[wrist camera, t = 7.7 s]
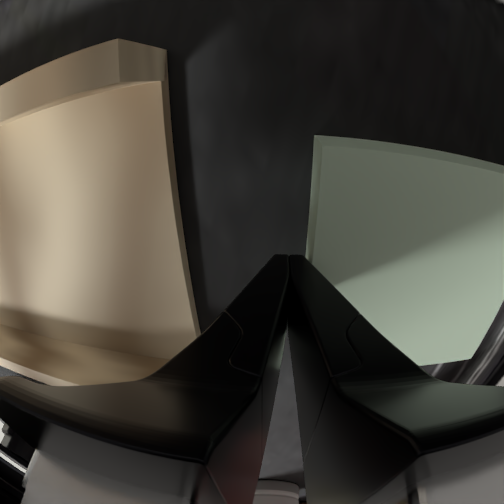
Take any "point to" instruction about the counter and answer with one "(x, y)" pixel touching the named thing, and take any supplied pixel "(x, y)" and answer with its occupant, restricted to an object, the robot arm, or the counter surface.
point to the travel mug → (276, 492)
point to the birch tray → (91, 220)
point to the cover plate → (410, 241)
